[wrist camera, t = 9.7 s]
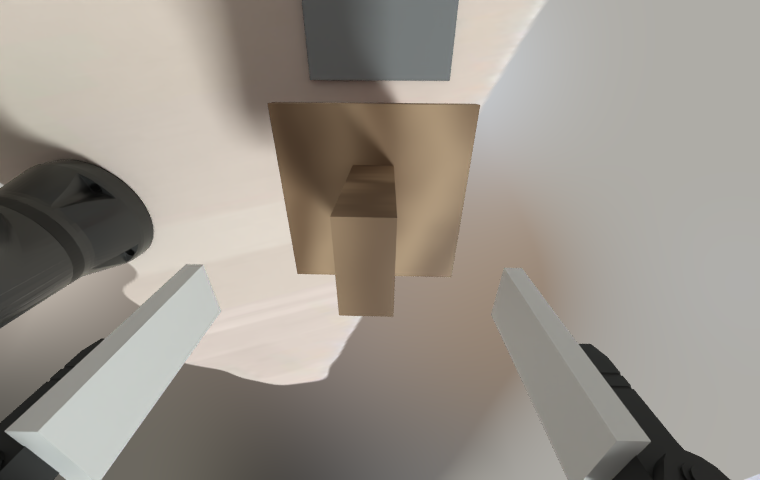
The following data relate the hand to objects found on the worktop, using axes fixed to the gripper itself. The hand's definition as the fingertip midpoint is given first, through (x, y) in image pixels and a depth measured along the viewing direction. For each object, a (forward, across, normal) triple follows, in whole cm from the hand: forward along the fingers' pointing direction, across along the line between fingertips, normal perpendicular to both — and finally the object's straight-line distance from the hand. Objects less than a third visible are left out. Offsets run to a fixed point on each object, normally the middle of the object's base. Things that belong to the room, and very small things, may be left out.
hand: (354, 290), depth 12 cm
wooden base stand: (+12, 0, 0) cm, 12 cm away
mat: (+25, +1, +16) cm, 30 cm away
